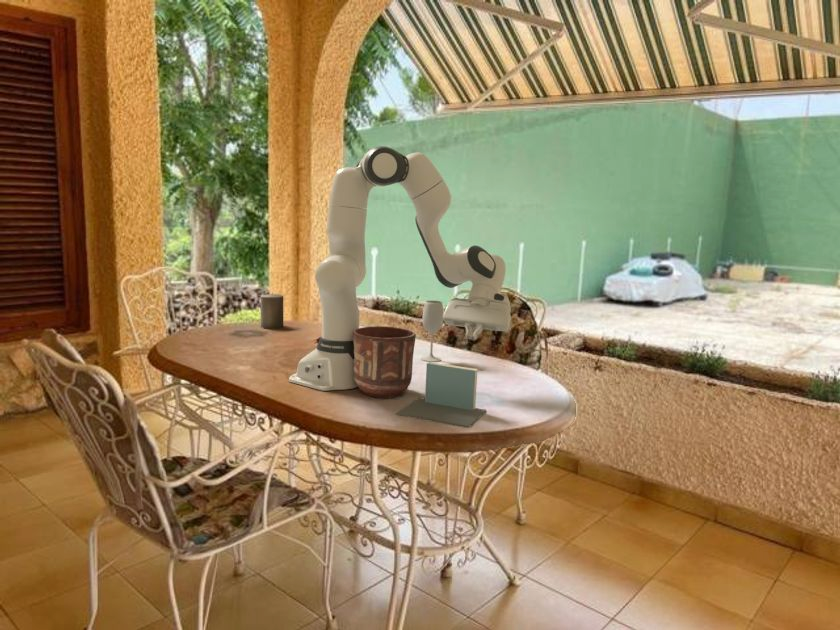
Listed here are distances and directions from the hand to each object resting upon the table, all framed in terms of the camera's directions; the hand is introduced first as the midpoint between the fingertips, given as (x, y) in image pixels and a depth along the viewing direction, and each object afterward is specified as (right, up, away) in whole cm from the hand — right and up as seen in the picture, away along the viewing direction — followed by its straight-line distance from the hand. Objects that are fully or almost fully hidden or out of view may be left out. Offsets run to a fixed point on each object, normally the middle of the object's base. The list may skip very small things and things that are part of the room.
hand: (470, 338), depth 182 cm
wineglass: (-11, -9, +42) cm, 45 cm away
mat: (-9, -19, -16) cm, 27 cm away
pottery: (-26, -16, 0) cm, 30 cm away
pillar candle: (-79, +1, +88) cm, 118 cm away
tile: (-7, -18, -11) cm, 22 cm away
